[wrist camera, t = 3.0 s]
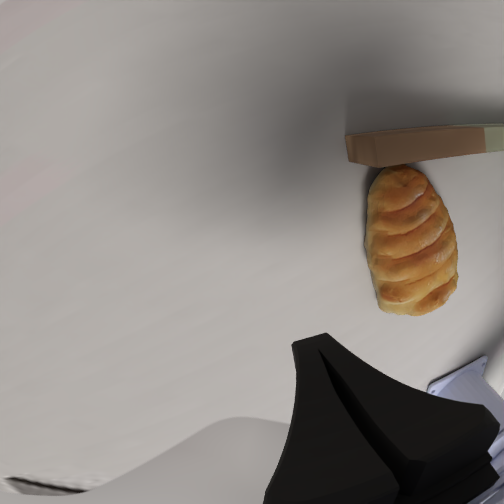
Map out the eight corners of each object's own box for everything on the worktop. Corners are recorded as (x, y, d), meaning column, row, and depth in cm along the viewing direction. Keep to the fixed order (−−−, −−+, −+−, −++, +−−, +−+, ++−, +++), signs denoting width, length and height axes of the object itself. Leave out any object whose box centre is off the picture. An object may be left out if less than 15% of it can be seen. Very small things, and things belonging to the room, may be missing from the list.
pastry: (333, 186, 18) (363, 199, 14) (420, 146, 18) (459, 151, 14) (374, 310, 21) (401, 339, 18) (446, 266, 21) (478, 287, 17)
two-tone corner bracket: (525, 273, 23) (548, 287, 19) (363, 344, 22) (383, 373, 19) (531, 123, 17) (560, 127, 14) (344, 135, 17) (374, 136, 13)
